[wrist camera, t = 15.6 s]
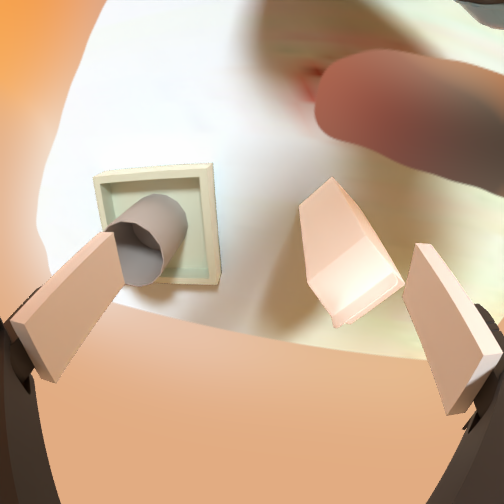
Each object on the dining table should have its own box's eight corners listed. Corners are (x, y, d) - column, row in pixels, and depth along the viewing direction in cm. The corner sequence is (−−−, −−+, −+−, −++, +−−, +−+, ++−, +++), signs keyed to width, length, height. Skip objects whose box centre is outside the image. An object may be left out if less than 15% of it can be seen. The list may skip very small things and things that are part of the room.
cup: (147, 255, 47) (118, 292, 38) (123, 205, 43) (87, 233, 34) (197, 240, 45) (176, 277, 36) (174, 185, 41) (144, 211, 33)
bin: (105, 170, 42) (92, 177, 39) (212, 162, 40) (206, 168, 37) (124, 269, 49) (114, 280, 46) (221, 272, 48) (217, 285, 44)
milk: (298, 205, 42) (305, 305, 22) (332, 175, 40) (374, 253, 20) (328, 237, 44) (354, 350, 24) (361, 208, 41) (418, 307, 22)
